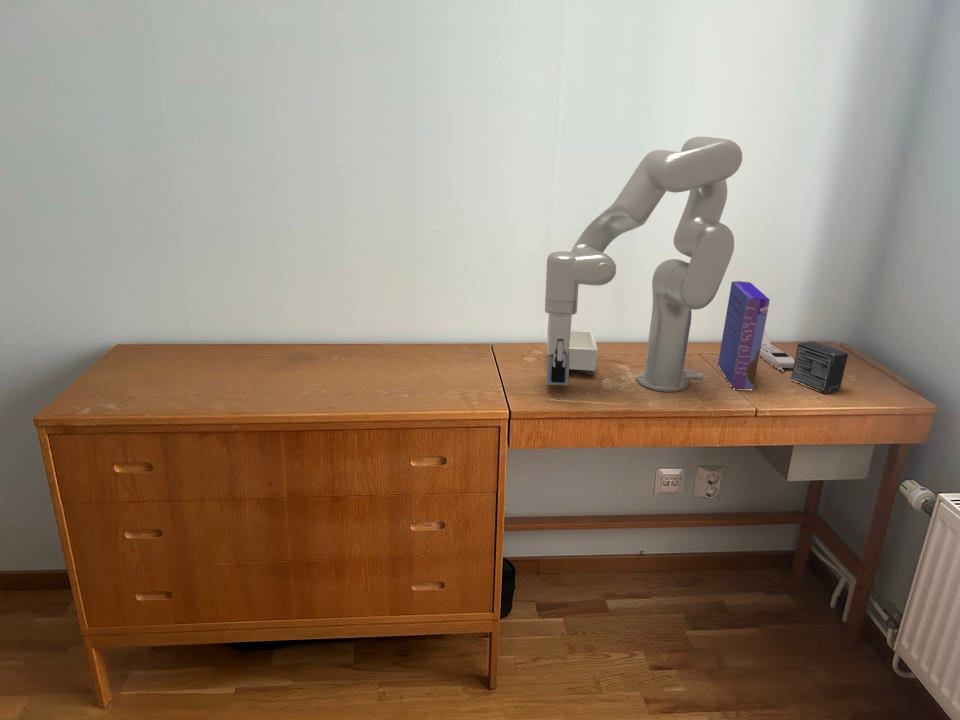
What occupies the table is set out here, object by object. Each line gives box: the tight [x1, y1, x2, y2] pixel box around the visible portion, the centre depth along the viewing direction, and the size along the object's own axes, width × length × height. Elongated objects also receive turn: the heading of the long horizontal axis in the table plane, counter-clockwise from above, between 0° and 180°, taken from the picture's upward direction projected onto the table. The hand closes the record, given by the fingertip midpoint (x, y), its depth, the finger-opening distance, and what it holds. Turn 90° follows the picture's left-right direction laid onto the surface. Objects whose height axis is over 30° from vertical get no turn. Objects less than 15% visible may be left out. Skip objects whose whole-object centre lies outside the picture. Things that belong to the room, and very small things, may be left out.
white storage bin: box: [569, 329, 599, 376], centre depth 184 cm, size 12×16×7 cm
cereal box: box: [717, 280, 771, 390], centre depth 179 cm, size 17×5×24 cm, turn 174°
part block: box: [546, 352, 570, 386], centre depth 168 cm, size 5×5×7 cm
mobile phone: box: [760, 328, 795, 371], centre depth 199 cm, size 6×6×25 cm
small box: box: [790, 340, 849, 395], centre depth 178 cm, size 11×6×10 cm, turn 29°
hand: (557, 376), depth 169 cm, fingers closed on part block, 5 cm apart
